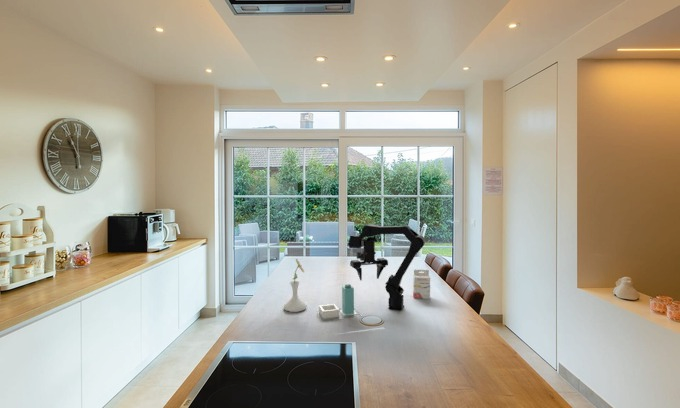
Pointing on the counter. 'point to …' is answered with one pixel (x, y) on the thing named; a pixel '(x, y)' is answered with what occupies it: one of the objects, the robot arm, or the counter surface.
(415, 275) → the ink cartridge box
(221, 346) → the counter surface
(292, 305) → the flower in vase
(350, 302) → the plug
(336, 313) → the grey board with socket
